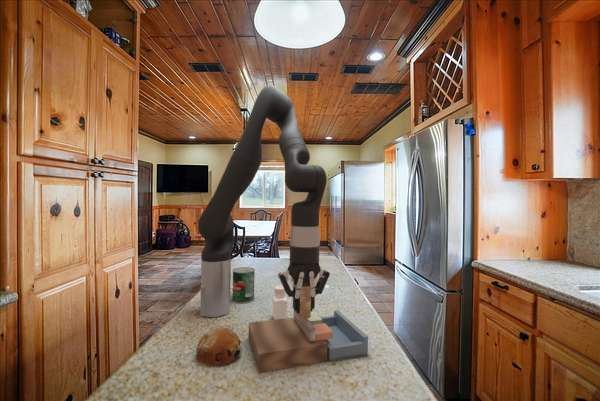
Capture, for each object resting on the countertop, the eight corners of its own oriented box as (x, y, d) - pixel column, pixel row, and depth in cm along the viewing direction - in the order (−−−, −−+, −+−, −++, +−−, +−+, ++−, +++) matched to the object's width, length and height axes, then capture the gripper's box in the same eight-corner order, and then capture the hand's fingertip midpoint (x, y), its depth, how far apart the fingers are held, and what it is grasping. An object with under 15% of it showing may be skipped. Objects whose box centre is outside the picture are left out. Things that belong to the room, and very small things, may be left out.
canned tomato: (228, 302, 103) (228, 271, 102) (238, 294, 110) (238, 266, 110) (248, 304, 101) (249, 273, 101) (257, 297, 108) (257, 267, 108)
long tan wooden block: (306, 342, 66) (307, 294, 66) (290, 317, 80) (291, 277, 79) (318, 340, 67) (319, 293, 67) (300, 316, 80) (301, 277, 80)
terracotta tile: (313, 341, 68) (313, 334, 68) (306, 331, 73) (306, 325, 73) (332, 338, 69) (333, 331, 69) (324, 329, 74) (325, 323, 74)
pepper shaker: (274, 321, 88) (274, 290, 88) (272, 315, 92) (272, 286, 91) (287, 319, 89) (287, 289, 89) (284, 314, 93) (284, 285, 92)
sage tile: (303, 327, 75) (304, 321, 75) (298, 319, 79) (298, 314, 79) (321, 325, 76) (322, 319, 76) (315, 318, 81) (315, 312, 81)
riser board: (258, 372, 62) (258, 354, 62) (248, 337, 77) (248, 322, 77) (327, 360, 67) (327, 343, 67) (304, 330, 82) (305, 316, 82)
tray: (329, 361, 67) (329, 342, 67) (305, 329, 83) (306, 313, 83) (367, 355, 70) (368, 336, 70) (337, 324, 86) (337, 309, 86)
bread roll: (228, 356, 75) (221, 324, 77) (253, 352, 69) (244, 318, 71) (193, 374, 67) (186, 338, 69) (217, 371, 61) (208, 332, 63)
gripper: (324, 240, 79) (323, 303, 79) (274, 242, 75) (273, 308, 75) (336, 244, 72) (334, 314, 72) (281, 247, 67) (280, 320, 68)
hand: (303, 310), depth 73 cm, fingers closed on long tan wooden block, 2 cm apart
